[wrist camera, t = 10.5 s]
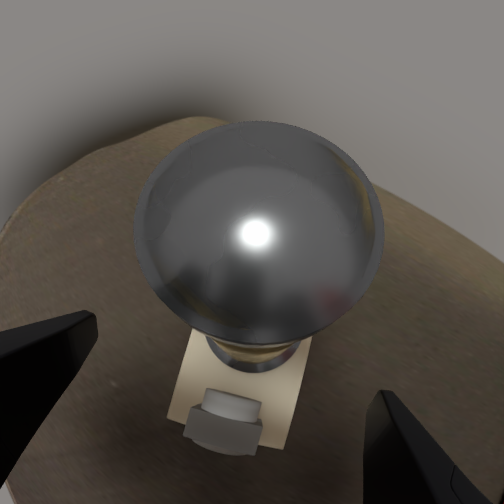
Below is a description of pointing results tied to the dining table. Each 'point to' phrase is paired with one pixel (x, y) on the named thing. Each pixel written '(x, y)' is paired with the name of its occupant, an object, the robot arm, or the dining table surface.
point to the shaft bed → (241, 382)
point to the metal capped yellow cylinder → (258, 238)
